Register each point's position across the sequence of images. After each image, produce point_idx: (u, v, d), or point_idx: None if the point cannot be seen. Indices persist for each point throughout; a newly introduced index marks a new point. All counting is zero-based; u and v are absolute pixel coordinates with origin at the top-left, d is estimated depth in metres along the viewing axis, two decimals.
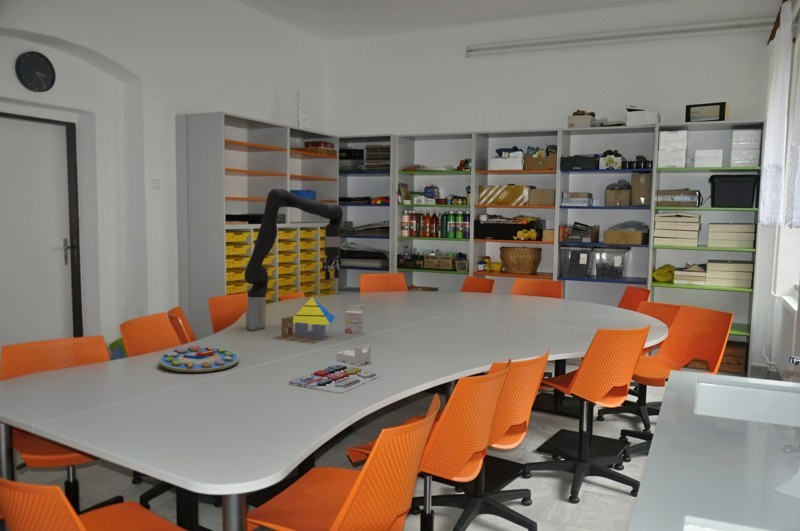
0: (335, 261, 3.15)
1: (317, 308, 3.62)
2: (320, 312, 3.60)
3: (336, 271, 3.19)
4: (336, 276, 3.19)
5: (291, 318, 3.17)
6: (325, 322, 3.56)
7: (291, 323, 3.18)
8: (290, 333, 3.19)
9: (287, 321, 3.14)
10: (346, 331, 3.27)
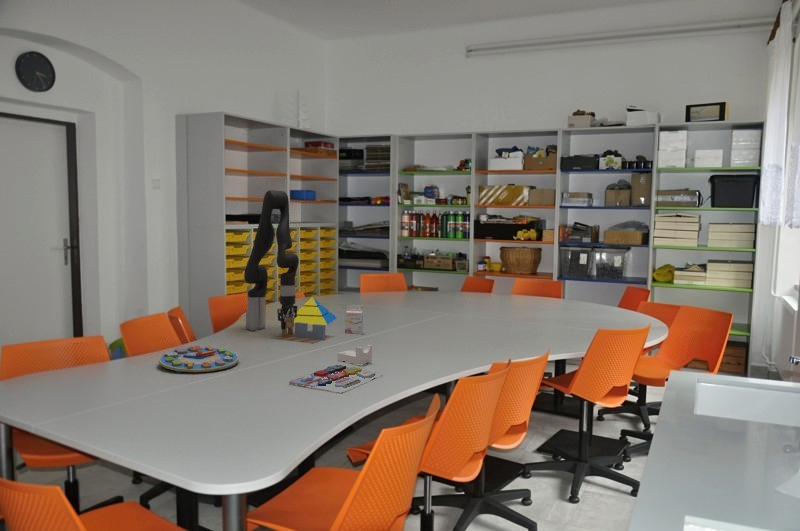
0: (290, 309, 3.16)
1: (316, 308, 3.61)
2: (318, 312, 3.59)
3: None
4: None
5: (291, 318, 3.17)
6: (322, 322, 3.55)
7: (291, 323, 3.18)
8: (290, 333, 3.19)
9: (287, 321, 3.14)
10: (346, 331, 3.27)
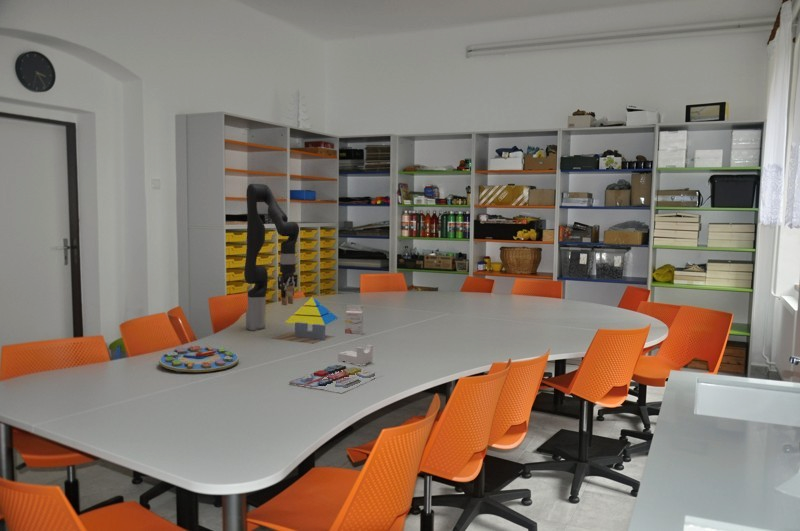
0: (290, 278, 3.15)
1: (315, 308, 3.61)
2: (317, 312, 3.59)
3: None
4: None
5: (291, 287, 3.16)
6: (320, 322, 3.54)
7: (291, 292, 3.16)
8: (290, 302, 3.17)
9: (287, 290, 3.13)
10: (346, 331, 3.27)
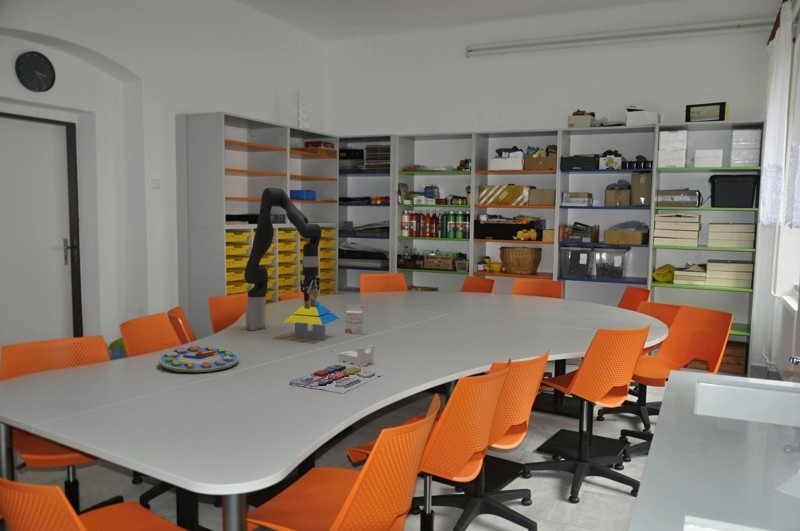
0: (313, 281, 3.09)
1: (314, 308, 3.61)
2: (316, 312, 3.59)
3: None
4: None
5: (314, 290, 3.11)
6: (318, 323, 3.54)
7: (314, 295, 3.11)
8: (313, 305, 3.12)
9: (310, 293, 3.08)
10: (346, 331, 3.27)
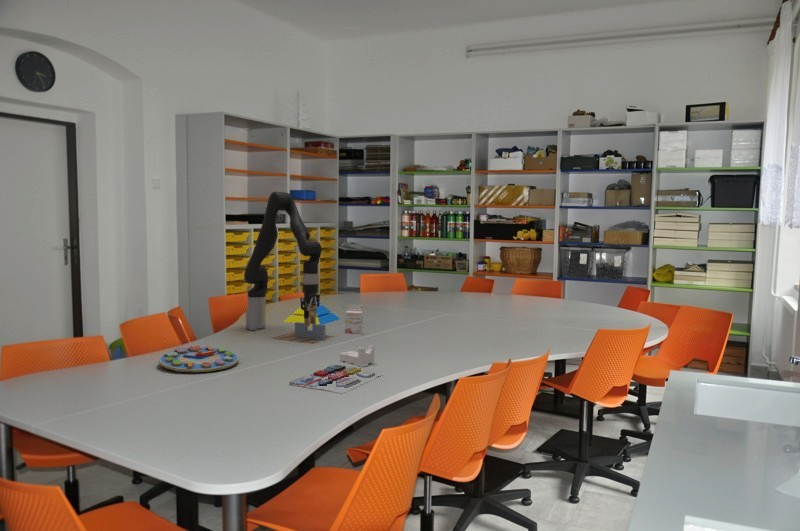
0: (313, 298, 3.10)
1: None
2: None
3: None
4: None
5: (314, 307, 3.11)
6: (316, 323, 3.54)
7: (314, 312, 3.12)
8: (313, 322, 3.13)
9: (310, 310, 3.08)
10: (346, 331, 3.27)
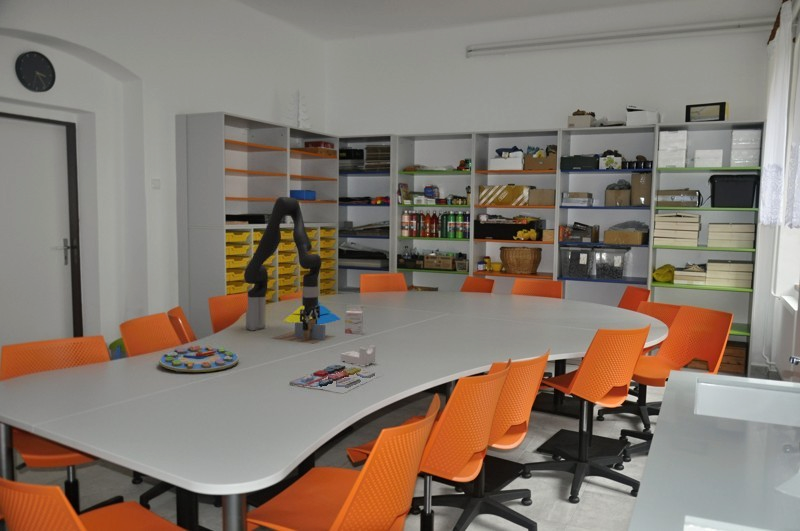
0: (313, 311, 3.11)
1: None
2: None
3: None
4: None
5: (313, 320, 3.12)
6: None
7: None
8: None
9: (310, 324, 3.09)
10: (346, 331, 3.27)
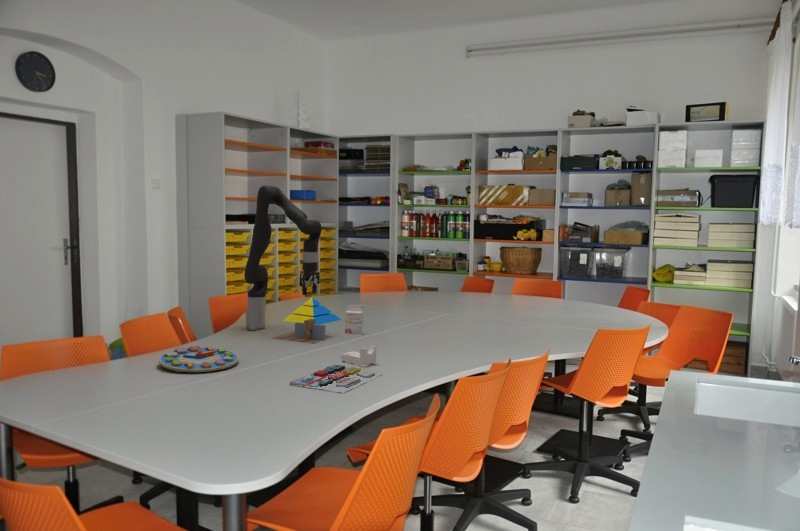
0: (313, 276, 3.15)
1: (311, 308, 3.60)
2: (311, 312, 3.58)
3: (314, 286, 3.19)
4: (314, 291, 3.19)
5: (313, 320, 3.12)
6: None
7: None
8: None
9: (310, 324, 3.09)
10: (346, 331, 3.27)
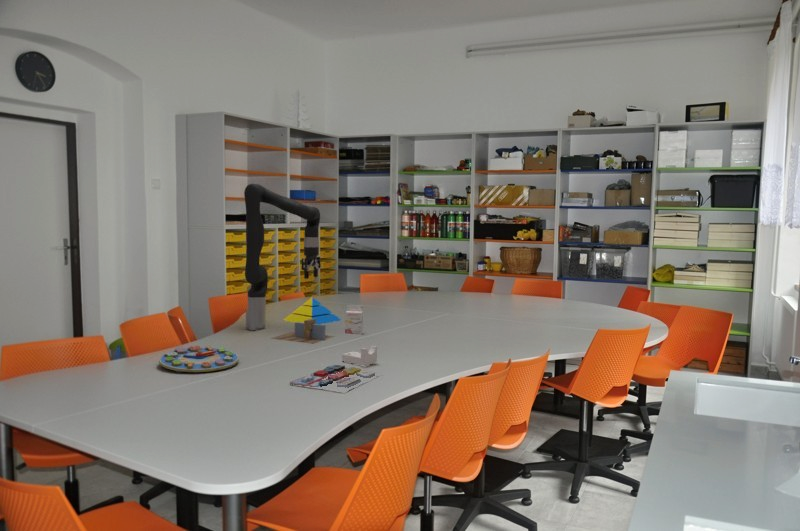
0: (314, 261, 3.30)
1: (310, 308, 3.60)
2: (310, 312, 3.58)
3: (315, 270, 3.34)
4: (315, 275, 3.34)
5: (313, 320, 3.12)
6: None
7: None
8: None
9: (310, 324, 3.09)
10: (346, 331, 3.27)
